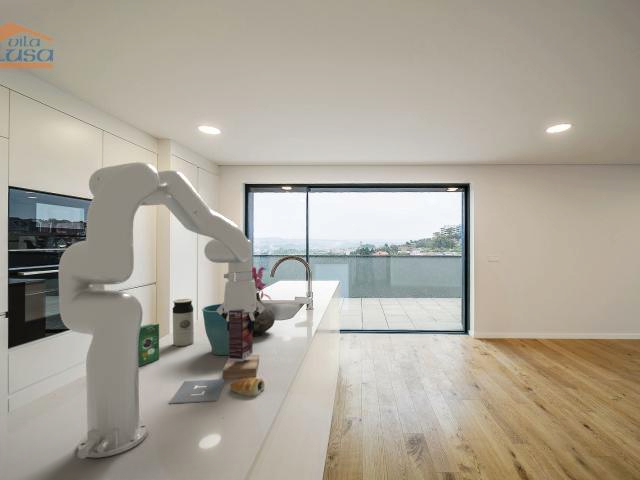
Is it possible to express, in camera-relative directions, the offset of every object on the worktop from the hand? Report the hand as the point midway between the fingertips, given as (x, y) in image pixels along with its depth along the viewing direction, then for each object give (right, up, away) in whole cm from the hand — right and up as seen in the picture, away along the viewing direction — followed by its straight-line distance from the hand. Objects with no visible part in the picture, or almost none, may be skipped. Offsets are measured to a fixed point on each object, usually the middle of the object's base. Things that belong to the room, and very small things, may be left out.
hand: (241, 332), depth 114 cm
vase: (-3, -13, +45) cm, 47 cm away
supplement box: (0, -8, 0) cm, 8 cm away
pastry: (+6, -13, -16) cm, 21 cm away
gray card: (-8, -12, -16) cm, 22 cm away
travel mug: (-31, -13, +31) cm, 46 cm away
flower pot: (-10, -13, +20) cm, 26 cm away
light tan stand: (0, -12, 0) cm, 12 cm away
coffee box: (-35, -13, +9) cm, 38 cm away
